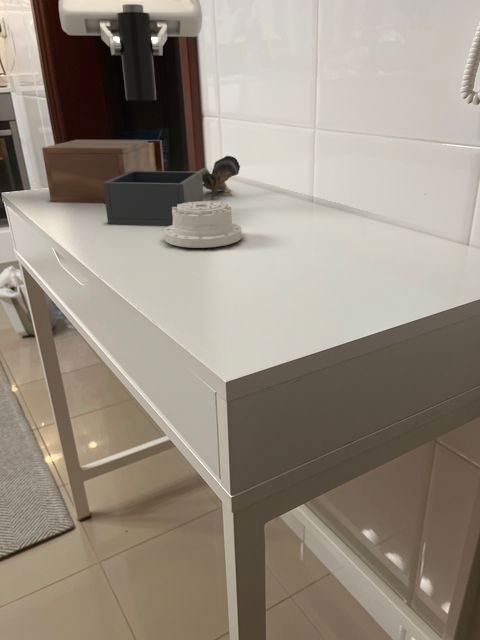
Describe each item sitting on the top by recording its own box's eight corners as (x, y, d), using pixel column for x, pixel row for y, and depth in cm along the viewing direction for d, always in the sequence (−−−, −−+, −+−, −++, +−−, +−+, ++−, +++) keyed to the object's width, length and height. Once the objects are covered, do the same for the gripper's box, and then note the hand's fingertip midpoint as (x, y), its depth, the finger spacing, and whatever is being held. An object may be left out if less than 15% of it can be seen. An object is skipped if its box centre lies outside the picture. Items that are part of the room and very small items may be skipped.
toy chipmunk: (244, 193, 96) (249, 175, 103) (219, 157, 93) (227, 141, 100) (209, 215, 99) (217, 196, 106) (184, 182, 96) (194, 164, 103)
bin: (107, 224, 81) (102, 182, 78) (134, 207, 91) (130, 170, 89) (185, 226, 79) (183, 184, 77) (203, 209, 90) (202, 171, 87)
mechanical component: (199, 255, 66) (257, 239, 73) (197, 217, 64) (257, 204, 71) (149, 240, 72) (206, 227, 79) (145, 206, 70) (204, 195, 77)
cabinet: (83, 187, 108) (77, 139, 104) (152, 188, 107) (148, 140, 103) (50, 201, 96) (41, 147, 92) (127, 203, 94) (121, 148, 91)
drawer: (113, 171, 121) (109, 137, 118) (170, 172, 119) (167, 138, 116) (81, 184, 106) (75, 146, 103) (145, 185, 104) (141, 146, 101)
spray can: (121, 100, 81) (111, 3, 76) (132, 99, 85) (122, 7, 80) (151, 100, 80) (142, 3, 75) (160, 99, 84) (152, 6, 79)
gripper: (50, -44, 78) (57, 31, 74) (195, -38, 83) (209, 33, 79) (57, -2, 84) (64, 69, 80) (192, 1, 89) (205, 69, 84)
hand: (137, 51), depth 79 cm, fingers closed on spray can, 4 cm apart
